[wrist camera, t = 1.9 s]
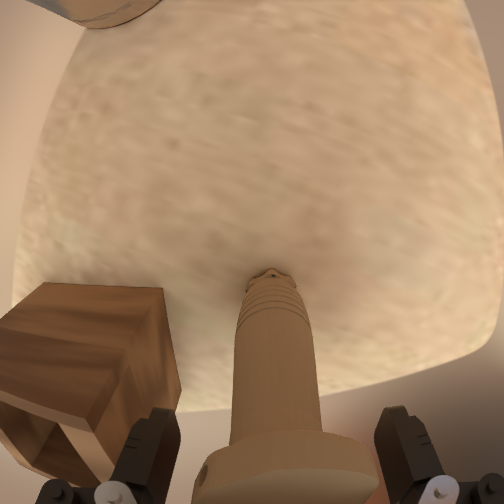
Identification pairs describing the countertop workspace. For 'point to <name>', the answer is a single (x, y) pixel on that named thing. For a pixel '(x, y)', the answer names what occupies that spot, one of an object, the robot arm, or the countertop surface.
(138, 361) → the wooden box
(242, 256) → the countertop surface
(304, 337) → the handle
